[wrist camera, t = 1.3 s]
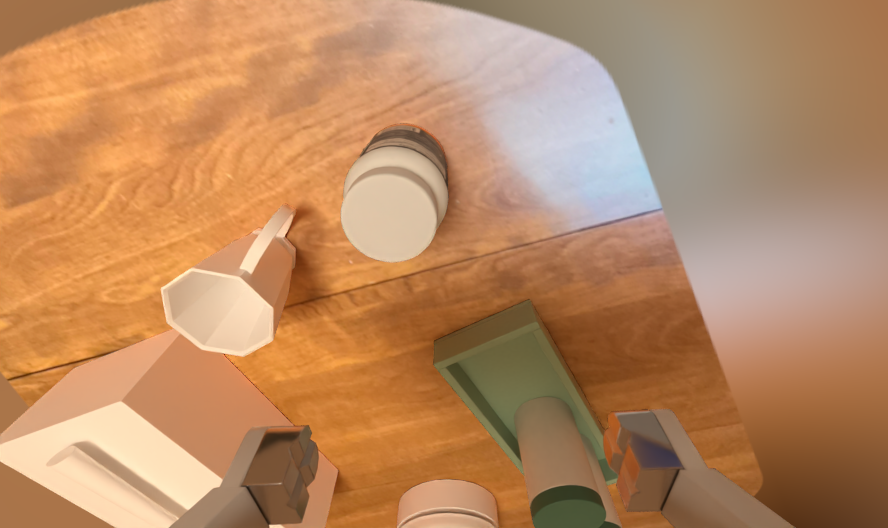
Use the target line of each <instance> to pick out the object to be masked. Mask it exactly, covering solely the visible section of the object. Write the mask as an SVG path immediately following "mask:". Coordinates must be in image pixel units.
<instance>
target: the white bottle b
mask: <svg viewBox="0 0 888 528" xmlns="http://www.w3.org/2000/svg"><path fill="white" fill-rule="evenodd" d="M579 434H580V433H579ZM580 437H581V440H582V443H583V446H584V449H585V452H586V455H587V458H588V460H589V463H590V466H591V469H592V472H593V475H594V478H595V481H596V484H597V487H598V490H599V493H600V496H601V499H602V502H603V505H604V507H605V510H606V519H605V521H604V523H603V524H602V525H601V526H600V527H598V528H622V525H621V523H620V520H619V517H618V514H617V511H616V509H615V506H614V503H613V500H612V498H611V495H610V492H609V489H608V487H607V484H606V481H605V478H604V476H603V473H602V470H601V467H600V465H599V462H598V459H597V456H596V454H595V451H594V448H593V445H592V443H591V441H590V439H589V438H588V437H586V436H585V435H582V434H580Z"/></svg>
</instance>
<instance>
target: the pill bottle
mask: <svg viewBox="0 0 888 528" xmlns="http://www.w3.org/2000/svg"><path fill="white" fill-rule="evenodd" d="M343 198H344V200H343V202H342V206H341V223H342V227H343V230H344V232H345V234H346V236H347V238H348V239H349V241H350V242H351V243H352V245H353V246H354V247H355V248H356V249H358V250H359V251H360V252H361V253H363V254H364V255H366V256H368V257H370V258H372V259H375V260H378V261H383V262H401V261H406V260H409V259H411V258H414V257H415V256H417V255H419V254H420V253H422V252H423V251H424V250H425V249H426V248H427V247H428V246H429V244H430V243H431V241H432V240H433V238H434V235H435V232H436V229H437V228H438V227H439V225H440V224H441V222H442V221H443V219H444V216H445V214H446V211H447V206H448V198H449V194H448V173H447V162H446V156H445V153H444V150H443V148H442V146H441V144H440V143H439V141H438V140H437V139H436V138H435V137H434V136H433V135H432V134H431V133H430V132H429V131H427V130H426V129H424V128H422V127H420V126H417V125H413V124H407V123H400V124H394V125H391V126H388V127H386V128H384V129H382V130H381V131H379V132H378V133H377V134H376V135H375V136H374V137H373V138H372V140H371V141H370V142H369V143H368V144H367V146H366V147H365V148H364V149H363V151H362V153H361V155H360V156H359V157H358V159H357V160H356V161H355V162H354V164H353V165H352V167H351V168H350V170H349V171H348V173H347V176H346V179H345V182H344V190H343Z"/></svg>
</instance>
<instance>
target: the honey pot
mask: <svg viewBox="0 0 888 528" xmlns="http://www.w3.org/2000/svg"><path fill="white" fill-rule="evenodd" d="M397 528H499V524H498V516H497V507H496V500H495V498H494V497H493V495H492V494H491V493H490V492H489V491H488V490H486V489H485V488H483V487H481V486H479V485H477V484H475V483H471V482H467V481H463V480H451V479H445V480H434V481H429V482H425V483H421V484H419V485H417V486H415V487H412V488H411V489H409V490H408V491H407V492H405V493H404V494H403V496H402V497H401V499H400V501H399V508H398V519H397Z"/></svg>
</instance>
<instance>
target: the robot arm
mask: <svg viewBox="0 0 888 528" xmlns="http://www.w3.org/2000/svg"><path fill="white" fill-rule="evenodd" d="M607 422H608V424H609V426H610V427H609V428H607V429H606V430H605V431H604V436H603V446H604V452H605V456H606V460H607V462H608V465H609V468H610V469H612V470H613V471H614V472H615V473H616V474H617V475H618V480H617V483H616V486H617V488H618V491H619V494H620V496H621V499H622V501H623V504H624V506H625V509H626V511H627V512H649V511H662V512H661V514H662V515H663V516H664V517H665V518H666V519H667V520H668V521H669V522H670V523H671V524H672V525H673V526H674V527H675V528H795V527H793V526H792V525H791V524H789V523H788V522H787V521H785V520H784V519H783V518H781V517H780V516H778V515H777V514H776V513H774V512H773V511H772V510H770V509H769V508H768V507H766V506H765V505H763V504H762V503H761V502H760V501H758V500H757V499H755V498H754V497H753V496H751V495H750V494H749V493H747V492H746V491H745V490H743V489H742V488H741V487H739V486H738V485H736V484H735V483H734V482H732V481H731V480H730V479H728V478H727V477H726V476H724V475H723V474H721V473H720V472H719V471H717V470H716V469H715V468H708V467H707V465H706V464H705V462H704V460H703V459H702V457H701V456H700V454H699V452H698V451H697V449H696V448H695V446H694V444H693V443H692V441H691V439H690V438H689V436H688V435H687V433H686V431H685V430H684V428H683V427H682V425H681V423H680V422H679V420H678V419H677V417H676V415H675V414H674V412H672V411H671V410H670V409H655V410H648V409H643V410H627V411H611V412H610V413H609V414H608V418H607ZM311 434H312V432H311V430H310V427H309V425H301V426H261V427H251V429H250V430H249V431H248V432H247V433H246V435H245V437H244V439H243V441H242V443H241V445H240V447H239V449H238V451H237V453H236V455H235V457H234V459H233V461H232V463H231V465H230V467H229V469H228V471H227V473H226V475H225V477H224V479H223V481H222V483H221V485H220V487H217V488H213V489H212V490H211V491H209V492H208V493H207V494H206V495H205V496H204V497H203V498H202V499H200V500H199V501H198V502H197V503H196V504H195V505H194V506H193V507H191V508H190V509H189V510H188V511H187V512H186V513H185V514H184V515H182V516H181V517H180V518H179V519H178V520H177V521H176V522H175V523H173V524H172V525H171V526H170V527H169V528H270V526H269V525H281V524H296V523H302V521H303V518H304V514H305V511H306V508H307V504H308V501H309V497H310V496H309V493H308V490H307V487H308V486H309V485H310V484H311V483H312V482H313V480H314V479H315V476H316V473H317V469H318V460H319V453H318V447H317V445H316V443H315V442H314V441H312V440H311V439H310V437H311Z"/></svg>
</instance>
